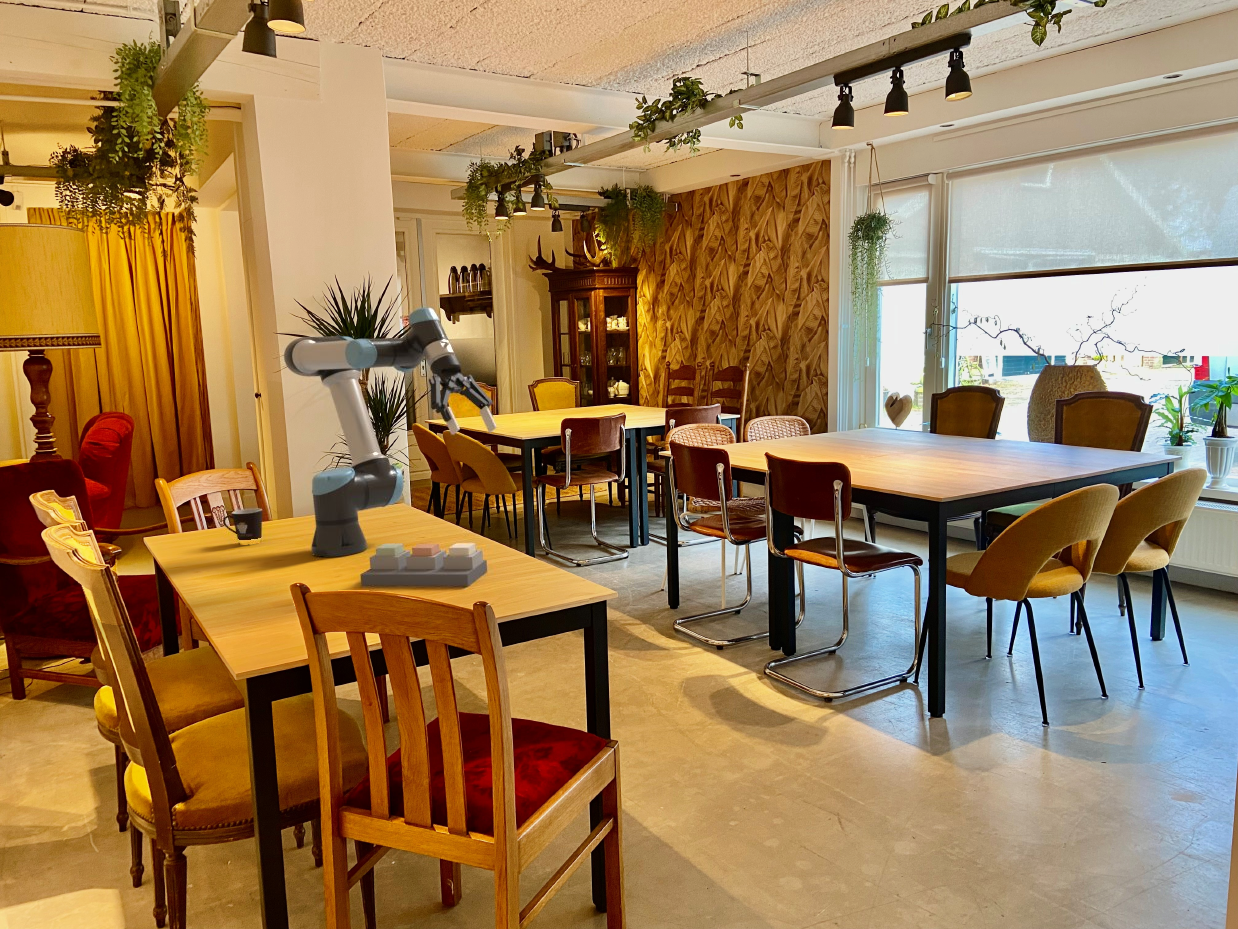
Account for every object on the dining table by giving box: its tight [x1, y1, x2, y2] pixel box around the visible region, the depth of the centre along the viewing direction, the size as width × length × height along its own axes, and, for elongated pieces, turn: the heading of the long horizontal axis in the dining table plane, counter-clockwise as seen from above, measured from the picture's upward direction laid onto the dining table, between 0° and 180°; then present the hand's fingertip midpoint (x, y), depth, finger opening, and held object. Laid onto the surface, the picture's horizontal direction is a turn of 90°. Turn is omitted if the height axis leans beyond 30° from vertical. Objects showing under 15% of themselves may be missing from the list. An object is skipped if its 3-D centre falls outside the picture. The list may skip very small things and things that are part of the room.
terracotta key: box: [411, 542, 441, 556], centre depth 218 cm, size 5×5×3 cm
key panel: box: [359, 549, 488, 588], centre depth 217 cm, size 27×14×6 cm, turn 80°
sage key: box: [375, 543, 405, 557], centre depth 220 cm, size 5×5×3 cm
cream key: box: [448, 542, 477, 556], centre depth 217 cm, size 5×5×3 cm
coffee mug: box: [222, 508, 263, 540], centre depth 272 cm, size 12×9×10 cm
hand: (475, 430), depth 228 cm, fingers open, 13 cm apart
